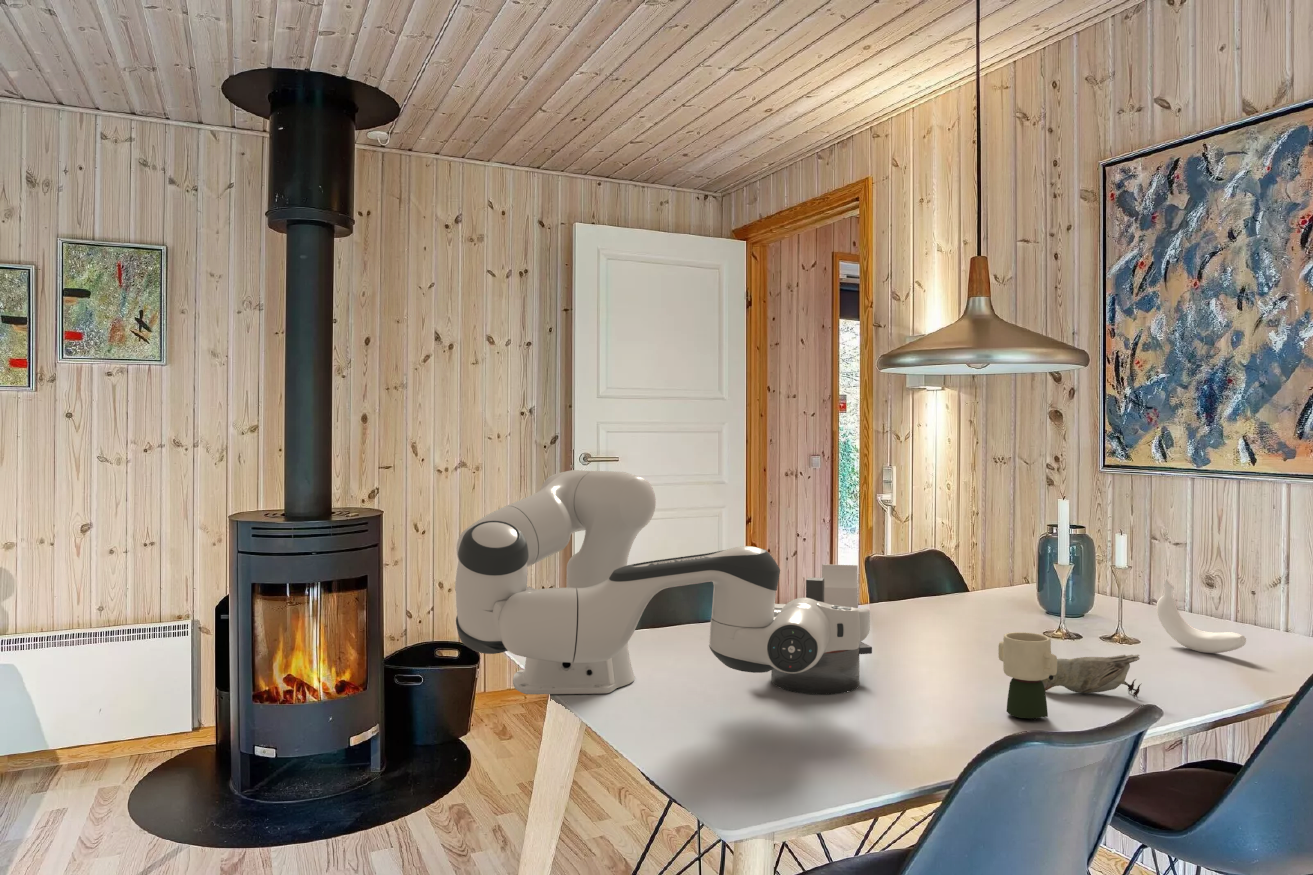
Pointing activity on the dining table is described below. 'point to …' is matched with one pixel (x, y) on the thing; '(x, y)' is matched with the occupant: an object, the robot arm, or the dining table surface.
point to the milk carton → (840, 585)
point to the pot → (825, 674)
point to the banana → (1193, 629)
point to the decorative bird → (1092, 674)
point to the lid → (816, 593)
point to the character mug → (1027, 672)
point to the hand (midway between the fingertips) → (812, 610)
